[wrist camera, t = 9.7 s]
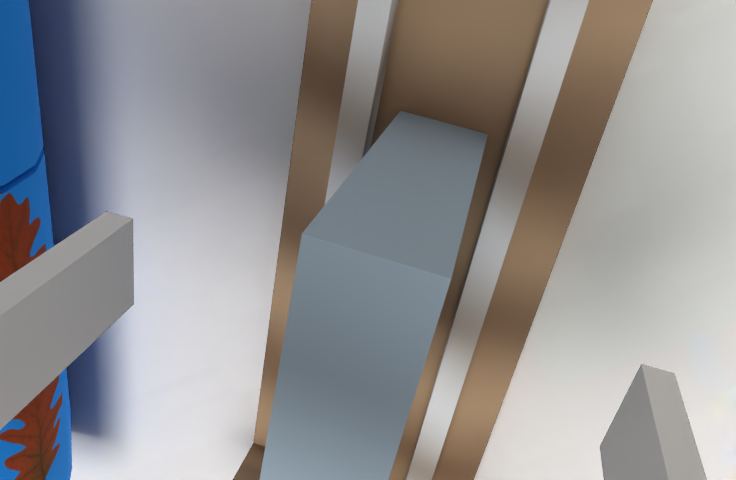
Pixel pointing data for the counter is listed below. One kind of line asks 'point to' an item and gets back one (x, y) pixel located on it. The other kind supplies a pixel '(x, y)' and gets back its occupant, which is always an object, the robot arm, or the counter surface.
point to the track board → (493, 185)
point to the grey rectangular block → (370, 303)
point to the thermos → (27, 246)
